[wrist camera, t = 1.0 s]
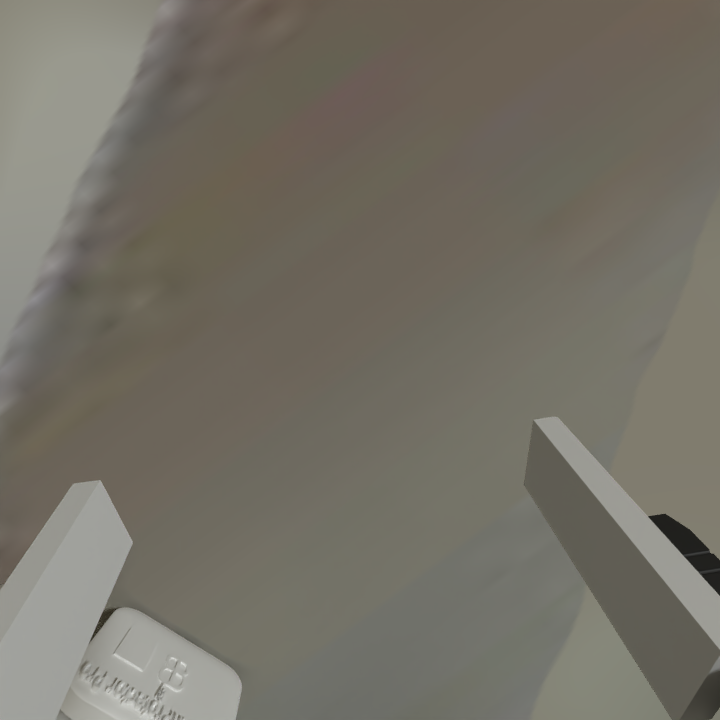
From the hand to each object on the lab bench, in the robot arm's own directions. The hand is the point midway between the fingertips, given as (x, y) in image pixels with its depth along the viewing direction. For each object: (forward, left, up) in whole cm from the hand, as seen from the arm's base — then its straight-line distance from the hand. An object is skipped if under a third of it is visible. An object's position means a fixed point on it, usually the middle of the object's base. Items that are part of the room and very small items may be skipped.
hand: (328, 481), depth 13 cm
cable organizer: (-25, +21, -32) cm, 46 cm away
